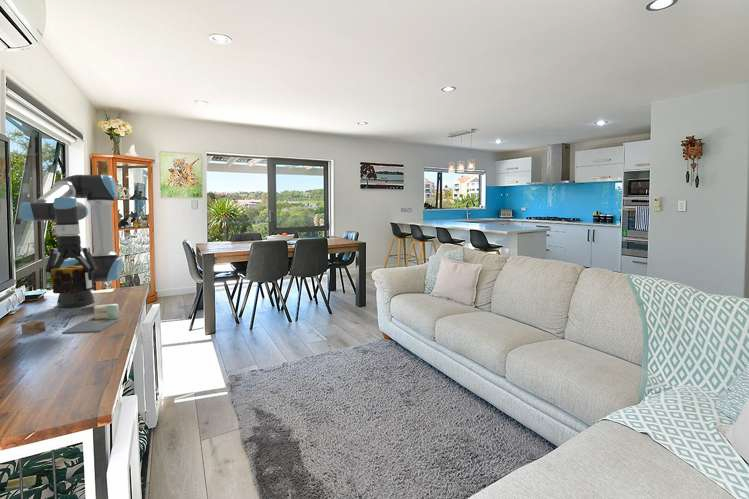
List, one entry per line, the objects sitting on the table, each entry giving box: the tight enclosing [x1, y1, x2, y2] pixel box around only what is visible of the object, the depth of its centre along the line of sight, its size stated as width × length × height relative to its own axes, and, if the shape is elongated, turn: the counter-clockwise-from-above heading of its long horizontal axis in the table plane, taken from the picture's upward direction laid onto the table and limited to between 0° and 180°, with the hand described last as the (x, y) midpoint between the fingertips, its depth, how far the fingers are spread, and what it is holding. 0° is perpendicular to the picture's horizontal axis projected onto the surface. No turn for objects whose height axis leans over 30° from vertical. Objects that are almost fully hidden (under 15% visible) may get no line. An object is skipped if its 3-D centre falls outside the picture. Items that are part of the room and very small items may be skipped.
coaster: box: [61, 319, 119, 334], centre depth 167 cm, size 14×14×1 cm
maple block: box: [93, 303, 109, 320], centre depth 181 cm, size 5×5×5 cm
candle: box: [50, 266, 95, 294], centre depth 165 cm, size 10×10×10 cm
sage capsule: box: [106, 303, 120, 320], centre depth 178 cm, size 4×4×6 cm
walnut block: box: [20, 320, 46, 336], centre depth 161 cm, size 5×5×4 cm
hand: (73, 288), depth 166 cm, fingers closed on candle, 11 cm apart
